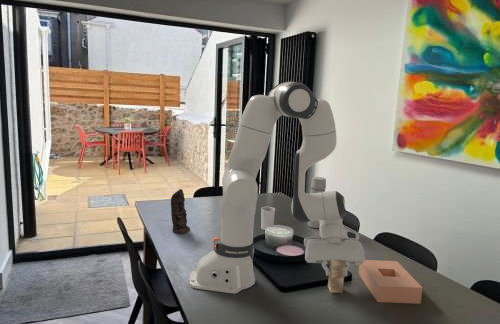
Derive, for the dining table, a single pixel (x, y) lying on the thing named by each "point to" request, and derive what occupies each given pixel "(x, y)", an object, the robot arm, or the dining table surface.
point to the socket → (390, 282)
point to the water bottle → (317, 187)
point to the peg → (336, 276)
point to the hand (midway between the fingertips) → (336, 275)
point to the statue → (179, 213)
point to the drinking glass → (267, 217)
